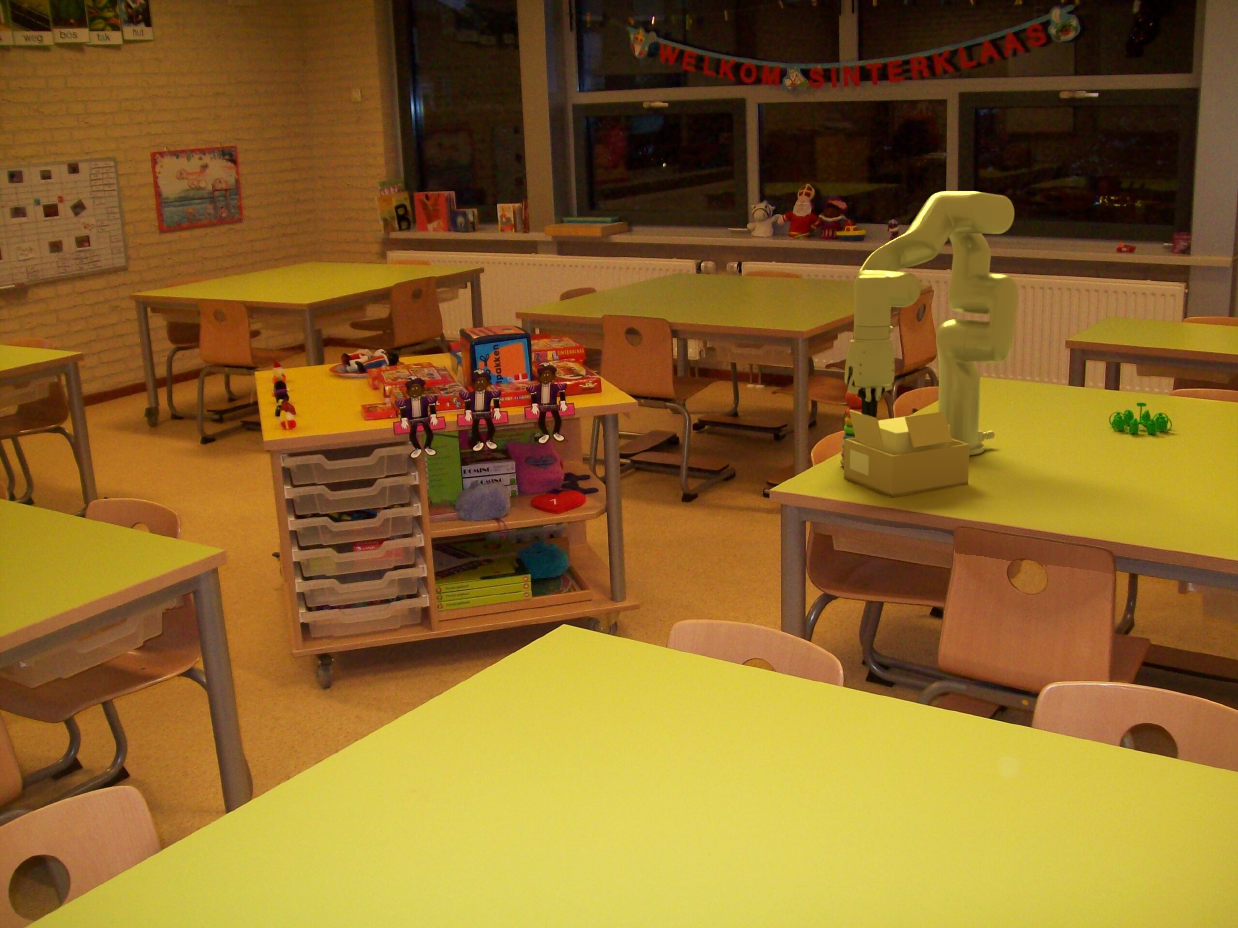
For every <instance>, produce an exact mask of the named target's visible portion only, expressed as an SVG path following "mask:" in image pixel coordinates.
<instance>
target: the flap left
mask: <svg viewBox="0 0 1238 928" xmlns="http://www.w3.org/2000/svg"><path fill="white" fill-rule="evenodd" d="M915 415H916V416H913V415H908V416H909V417H906V416H904V417H905V420H906V424H907V427H908V431H909V435H910V438H911V442H912V445H913V448H916V447H922V446H928V445H935V444H941V443H947V442H952V438H951V434H950V431H949V427H948V424H947V420H946V417H945V413H944V411H943V412H938V411H937V412H932V413H930V412H929V413H924V414H915Z"/></svg>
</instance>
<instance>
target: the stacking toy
mask: <svg viewBox="0 0 1238 928" xmlns="http://www.w3.org/2000/svg"><path fill="white" fill-rule="evenodd" d="M857 388H858V387H857ZM845 402H846V403H847V405H848V407H847V408H846V410H845V414H846V415H847V416H846V417H845V418H844V422H845V425H844V427H843V431H844V432H845V433H844V434H843V437H842V439H843V440H844V439H849V438H855V434H854V430H853V425H852V421H851V416H850V412H849V410H853V411H856V412H859V413H861V410H862V400H860V399H859V396H858V395H857V394H853V393H849V392H848V391H847V392H846V394H845ZM840 455H841V457H842V458H841V459H840V466H842V467H843V468H844V441H843V442H842V451H841V453H840Z"/></svg>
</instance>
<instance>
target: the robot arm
mask: <svg viewBox="0 0 1238 928" xmlns="http://www.w3.org/2000/svg"><path fill="white" fill-rule="evenodd" d="M1014 219H1015V208H1014V205H1013V203H1012V201H1011V200H1010V199H1009V198H1008V197H1007V196H1005V195H1001V194H994V193H989V192H988V193H987V192H980V191H973V190H972V191H965V190H964V191H961V190H959V191H953V190H952V191H950V190H947V191H939V192H936V193H933V194H932V195H931V196H930V197H929V198H928V199H927V200H926V202H925V203H924V204H923V206H922V207H921V209H920V210H919V212H918V213H917V215H916V216H915V218H914V219H913V221H912V223H911V224H910V226H909V227H908V229H907V230H906V231H905V233H903V234H902V235H900V236H898V237H896V238H894V239H893V240H890V241H889V242H887V243H885V244H884V245H882V246H880V247H879V248H877V249H876V250H875V251H874V252H872V253H870V255H869V256H868V257H867V258H866V260H865V262H863V264H862V266H861V267H860V269H859V271H858V272H857V274H856V277H855V279H854V281H853V289H852V290H853V295H854V311H853V312H854V315H853V316H854V317H853V320H854V321H853V339H851V340H850V341H849V344H848V348H847V353H846V359H845V366H844V383H845V385H847V392H849V393H853V394H857V395H858V396H859V399H860V400H862V410H861V413H862V414H864V415H869V416H872V417H875V418H878V417H877V415H878V403H879V402H878V401H880V400H881V397H882V396H883V394H884V393H885V392H889V391H890V390H892V389H893V383H894V381H895V374H896V373H895V371H896V369H895V368H896V367H895V363H896V362H895V351H894V343H893V340H892V338H891V334H892V333H894V332H895V327H894V326H891V315H892V314H891V313H892V312H891V311H892V307H893V308H895V307H896V308H907V307H910V306H911V305H914V304H915V303H916V302H917V300H918V299H919V298H920V295H921V292H922V291H921V290H922V285H921V282H920V280H919V278H918V276H916V275H915V274H913V273H911V272H908V271H899V270H903V269H905V268H910V267H914V266H917V265H921V264H923V263H927V262H928V261H931V260H933V259H935V258H936V257H937V256H938V255H939V253H940V252H941V250H942V249H943V247H944V246H945V243H946V242H947V241H948V240H949V241H950V243H951V246H952V252H953V253H952V264H951V271H950V272H951V274H950V279H949V288H948V306H949V307H950V309H951V310H952V311H954V312H957V313H960V314H967V315H980V316H989V320H978V319H965V318H953V319H949V320H946V321H944V322H943V323H941V324H940V325H939V327H938V328H937V331H936V333H935V335H936V337H935V345H936V351H937V358H938V368H939V369H938V372H939V373H938V375H939V377H938V401H937V402H938V404H937V405H938V406H937V407H938V408H937V412H943V411H944V413H945V417H946V420H947V424H948V425H950V434H951V438H952V439H955V440H958V441H961V442H964V443H967V444H970V446H969V456H975V455H980V454H982V453H983V452H985V445H984V444H983V443H982V442H984V441H985V440H993V439H994V438H995V432H994V431H993V430H988V431H984V432H983V430H980V429H979V428H980V427H979V426H980V408H981V407H980V405H981V404H980V403H981V401H980V399H981V376H980V372H979V370H978V368H977V366H976V364H975V363H974V362H977V363H978V362H979V363H988V364H1000V363H1003V362H1004V361H1006V360H1007V359H1008V358H1009V356H1010V354H1011V351H1012V347H1013V341H1014V336H1015V328H1016V320H1017V313H1018V307H1019V306H1018V305H1019V288H1018V284H1017V281H1015V279H1014V278H1013V277H1012V276H1010V275H1007V274H1000V273H997V274H996V273H990V267H991V258H992V253H991V252H992V251H991V248H990V245H989V243H988V241H987V240H986V238H985V236H984V235H983V234H987V235H988V234H989V235H990V234H991V235H1000V234H1003V233H1005V232H1007V231H1008V230H1009V229H1010V228H1011V227H1012V225H1013V224H1014V223H1013V222H1014ZM857 387H858V388H857Z"/></svg>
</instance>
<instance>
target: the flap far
mask: <svg viewBox="0 0 1238 928" xmlns="http://www.w3.org/2000/svg"><path fill="white" fill-rule="evenodd" d="M849 412H850V416H851V421H852V425H853V430H854V434H855V438H856V439H858V440H861V441H864V442H867V443H869V444H872V445H875V446H878V447H881V448H884V445H883V441H882V436H881V432H880V427H879V423H878V417H877V418H875V417H872V416H869V415H864V414H862V413H859V412H856V411H853V410H849Z"/></svg>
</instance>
